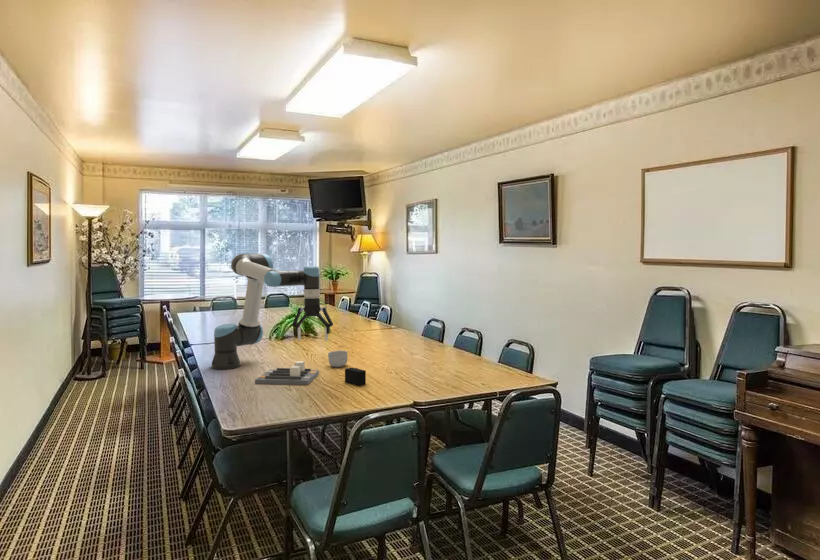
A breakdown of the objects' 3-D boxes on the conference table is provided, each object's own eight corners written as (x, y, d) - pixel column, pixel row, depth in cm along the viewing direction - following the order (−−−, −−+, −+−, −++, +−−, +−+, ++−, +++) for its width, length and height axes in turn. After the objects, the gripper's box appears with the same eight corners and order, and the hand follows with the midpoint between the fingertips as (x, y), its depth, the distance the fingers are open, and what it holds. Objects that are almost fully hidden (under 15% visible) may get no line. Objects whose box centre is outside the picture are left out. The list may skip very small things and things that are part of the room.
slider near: (289, 377, 249) (289, 367, 248) (292, 375, 253) (292, 365, 252) (297, 377, 248) (297, 367, 248) (300, 375, 252) (300, 366, 252)
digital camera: (367, 384, 246) (367, 369, 246) (359, 386, 242) (359, 371, 242) (353, 380, 253) (353, 366, 252) (344, 382, 249) (344, 368, 248)
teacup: (343, 368, 279) (343, 354, 278) (325, 367, 281) (325, 353, 280) (351, 363, 292) (351, 349, 292) (333, 362, 294) (333, 348, 294)
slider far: (294, 372, 260) (294, 362, 259) (297, 370, 264) (297, 361, 263) (302, 372, 259) (302, 362, 259) (304, 370, 263) (304, 361, 263)
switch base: (255, 383, 246) (255, 377, 246) (270, 373, 268) (270, 367, 268) (307, 384, 244) (307, 378, 244) (319, 374, 266) (319, 368, 266)
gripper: (284, 298, 247) (285, 341, 248) (335, 298, 245) (336, 341, 246) (289, 297, 255) (290, 339, 256) (338, 297, 253) (339, 339, 254)
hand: (312, 340), depth 251 cm, fingers open, 13 cm apart
